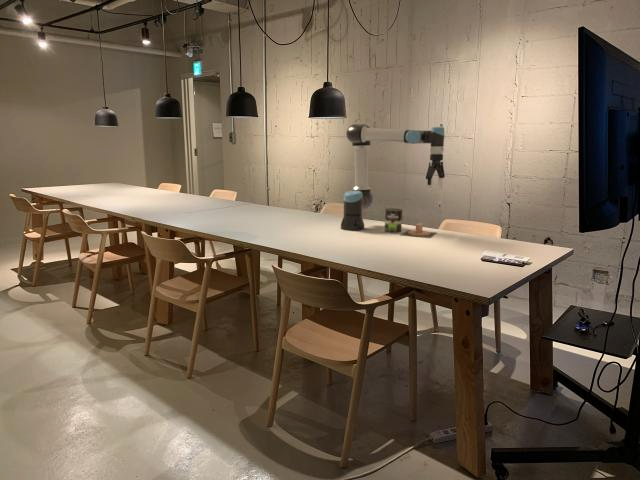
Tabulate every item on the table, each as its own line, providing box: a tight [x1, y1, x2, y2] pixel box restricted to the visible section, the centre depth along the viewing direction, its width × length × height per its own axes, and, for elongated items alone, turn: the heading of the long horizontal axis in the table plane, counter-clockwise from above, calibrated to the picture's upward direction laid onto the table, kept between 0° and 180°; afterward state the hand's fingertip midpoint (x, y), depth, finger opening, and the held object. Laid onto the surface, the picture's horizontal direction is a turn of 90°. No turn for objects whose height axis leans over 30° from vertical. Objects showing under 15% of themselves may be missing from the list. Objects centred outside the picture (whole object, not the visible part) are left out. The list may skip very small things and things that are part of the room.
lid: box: [407, 222, 431, 236], centre depth 283 cm, size 13×13×6 cm
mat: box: [400, 229, 437, 239], centre depth 284 cm, size 18×18×1 cm
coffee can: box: [384, 208, 403, 234], centre depth 289 cm, size 10×10×14 cm
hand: (434, 189), depth 287 cm, fingers open, 13 cm apart
